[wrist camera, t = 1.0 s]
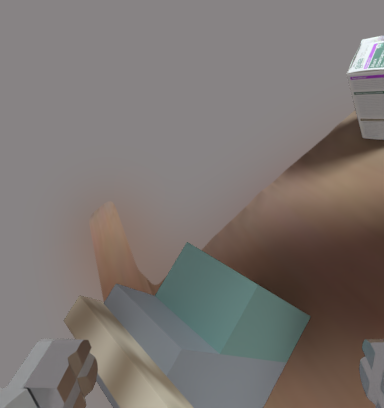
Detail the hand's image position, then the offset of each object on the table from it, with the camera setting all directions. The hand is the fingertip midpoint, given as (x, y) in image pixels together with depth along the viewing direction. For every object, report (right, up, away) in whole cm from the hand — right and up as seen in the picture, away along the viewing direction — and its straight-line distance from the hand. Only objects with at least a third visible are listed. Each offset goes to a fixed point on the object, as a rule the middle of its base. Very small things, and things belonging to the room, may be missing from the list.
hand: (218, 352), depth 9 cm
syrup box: (+30, +17, +38) cm, 51 cm away
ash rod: (-4, -9, +14) cm, 17 cm away
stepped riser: (+9, -15, +35) cm, 39 cm away
